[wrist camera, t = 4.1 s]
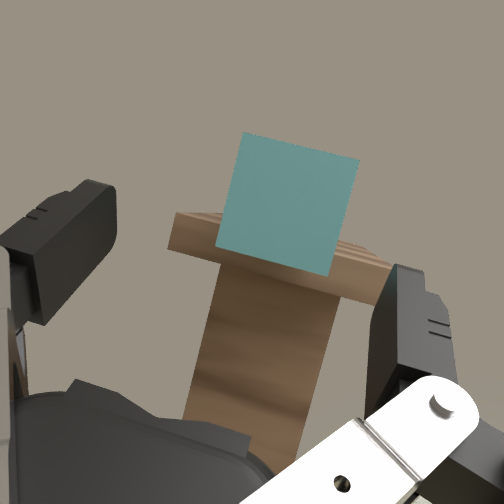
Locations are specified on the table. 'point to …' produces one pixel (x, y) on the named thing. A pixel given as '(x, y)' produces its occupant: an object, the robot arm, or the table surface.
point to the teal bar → (286, 203)
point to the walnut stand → (267, 336)
